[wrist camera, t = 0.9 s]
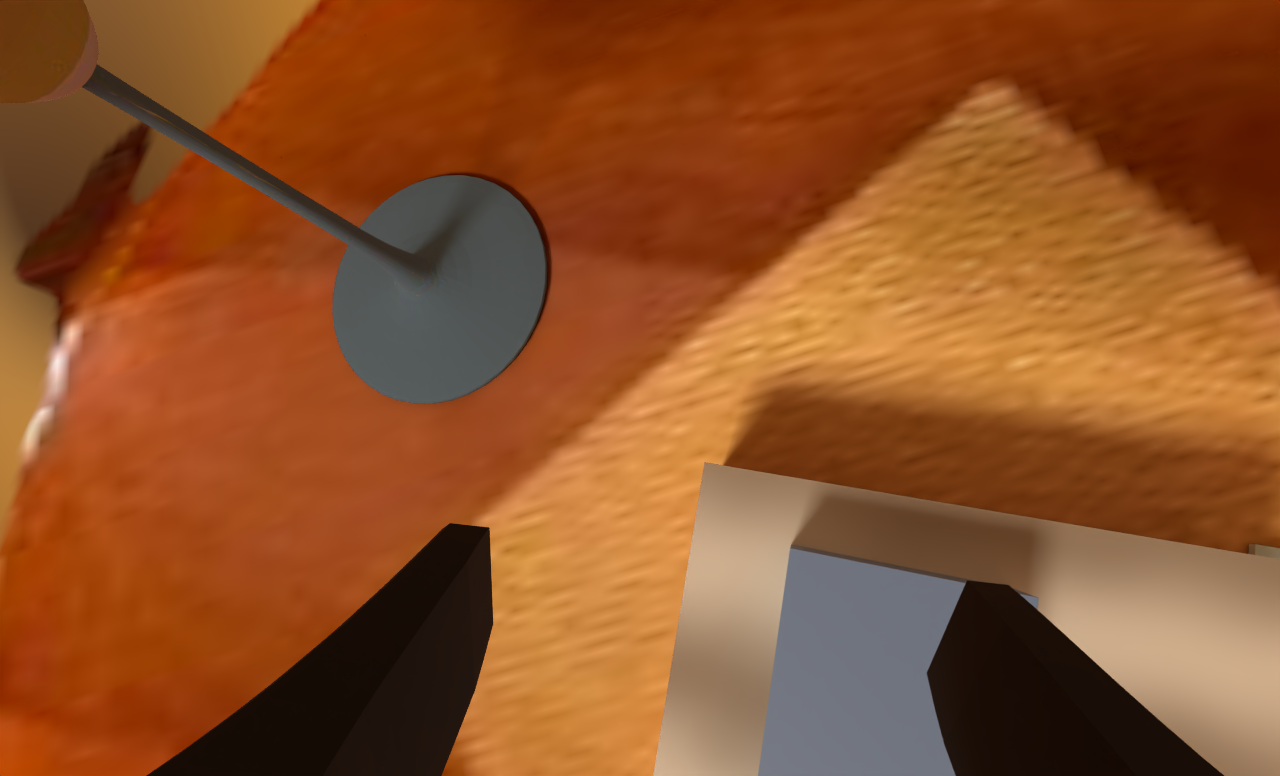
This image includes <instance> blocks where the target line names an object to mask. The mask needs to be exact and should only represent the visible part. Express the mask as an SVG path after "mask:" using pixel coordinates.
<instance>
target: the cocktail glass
mask: <svg viewBox="0 0 1280 776" xmlns="http://www.w3.org/2000/svg"><path fill="white" fill-rule="evenodd" d="M97 60H98V42H97V35H96V32H95V28H94V25H93V22H92V20H91V17H90V15H89V12H88V10H87V7H86V5H85V3H84V1H83V0H0V103H27V102H41V101H48V100H53V99H58V98H62V97H65V96H67V95H69V94H72V93H73V92H75V91H77V90H79V89H80V88H81V87H83V88H85V89H86V90H88V91H90V92H92V93H93V94H95V95H97V96H99V97H100V98H102V99H104V100H106V101H107V102H109V103H111V104H113V105H114V106H116V107H118V108H120V109H121V110H123V111H125V112H127V113H129V114H130V115H132V116H133V117H136V118H137V119H139V120H140V121H142V122H144V123H145V124H147V125H149V126H151V127H152V128H154V129H156V130H157V131H159V132H161V133H163V134H164V135H166V136H168V137H170V138H171V139H173V140H174V141H176V142H178V143H180V144H181V145H183V146H185V147H186V148H188V149H190V150H192V151H193V152H195V153H197V154H198V155H200V156H202V157H204V158H205V159H207V160H209V161H210V162H212V163H214V164H216V165H217V166H219V167H221V168H222V169H224V170H226V171H227V172H229V173H231V174H232V175H234V176H236V177H237V178H239V179H241V180H242V181H244V182H246V183H247V184H249V185H251V186H252V187H254V188H256V189H257V190H259V191H261V192H262V193H264V194H266V195H267V196H269V197H271V198H272V199H274V200H276V201H277V202H279V203H281V204H282V205H284V206H286V207H287V208H289V209H291V210H292V211H294V212H296V213H297V214H299V215H301V216H302V217H304V218H305V219H307V220H309V221H310V222H312V223H314V224H315V225H317V226H319V227H320V228H322V229H323V230H325V231H327V232H328V233H330V234H332V235H333V236H335V237H337V238H338V239H340V240H341V241H343V242H345V243H346V244H348V247H347V250H346V252H345V254H344V256H343V258H342V260H341V263H340V267H339V270H338V273H337V276H336V281H335V287H334V293H333V321H334V328H335V333H336V336H337V340H338V343H339V346H340V348H341V350H342V353H343V355H344V357H345V359H346V361H347V362H348V363H349V365H350V366H351V368H352V369H353V370H354V372H355V373H356V374H357V375H358V376H359V377H360V378H361V379H362V380H363V381H364V382H365V383H366V384H367V385H369V386H370V387H372V388H373V389H375V390H376V391H378V392H379V393H381V394H383V395H386V396H388V397H391V398H393V399H396V400H399V401H405V402H410V403H416V404H431V403H440V402H445V401H451V400H454V399H457V398H460V397H462V396H465V395H468V394H470V393H472V392H474V391H476V390H477V389H479V388H481V387H483V386H485V385H486V384H488V383H489V382H490V381H492V380H493V379H494V378H495V377H497V376H498V375H499V374H501V373H502V372H503V371H504V370H505V369H506V368H507V367H508V366H509V365H510V364H511V363H512V361H513V360H514V359H515V358H516V357H517V355H518V354H519V353H520V351H521V350H522V349H523V347H524V346H525V345H526V343H527V341H528V340H529V338H530V336H531V334H532V332H533V330H534V328H535V326H536V324H537V321H538V318H539V316H540V313H541V310H542V307H543V303H544V298H545V293H546V287H547V260H546V253H545V247H544V244H543V241H542V237H541V234H540V231H539V229H538V228H537V226H536V224H535V222H534V220H533V218H532V216H531V215H530V213H529V212H528V211H527V210H526V208H525V207H524V206H523V204H522V203H521V202H520V201H519V200H518V199H517V198H515V197H514V196H513V195H512V194H511V193H510V192H508V191H507V190H505V189H503V188H502V187H500V186H498V185H496V184H495V183H492V182H489V181H486V180H484V179H481V178H477V177H470V176H464V175H448V176H440V177H435V178H430V179H426V180H424V181H421V182H418V183H415V184H412V185H411V186H409V187H407V188H405V189H403V190H401V191H399V192H397V193H396V194H395V195H393V196H392V197H390V198H389V199H387V200H386V201H385V202H383V203H382V204H381V205H380V206H379V207H378V208H377V209H376V210H375V211H374V212H373V213H371V214H370V216H369V217H368V218H367V219H366V220H365V222H364V223H363V224H362V225H361V226H360V228H358V227H357V226H355V225H353V224H352V223H350V222H348V221H347V220H345V219H343V218H342V217H340V216H338V215H337V214H335V213H333V212H332V211H330V210H329V209H327V208H325V207H324V206H322V205H320V204H319V203H317V202H315V201H314V200H312V199H310V198H309V197H307V196H305V195H304V194H302V193H300V192H299V191H297V190H296V189H294V188H292V187H291V186H289V185H287V184H286V183H284V182H283V181H281V180H279V179H278V178H276V177H275V176H273V175H271V174H270V173H268V172H267V171H265V170H263V169H262V168H260V167H258V166H257V165H255V164H254V163H252V162H250V161H249V160H247V159H246V158H244V157H242V156H241V155H239V154H238V153H236V152H234V151H233V150H231V149H229V148H228V147H226V146H225V145H223V144H221V143H220V142H218V141H217V140H215V139H213V138H212V137H210V136H209V135H207V134H206V133H204V132H202V131H201V130H199V129H197V128H196V127H194V126H193V125H191V124H190V123H188V122H187V121H185V120H183V119H182V118H180V117H179V116H177V115H175V114H174V113H172V112H171V111H169V110H167V109H166V108H164V107H163V106H161V105H160V104H158V103H156V102H155V101H153V100H152V99H150V98H149V97H147V96H145V95H144V94H142V93H141V92H139V91H138V90H136V89H135V88H133V87H131V86H130V85H128V84H127V83H125V82H124V81H122V80H121V79H119V78H117V77H116V76H114V75H113V74H111V73H110V72H108V71H107V70H105V69H104V68H102V67H100V66H99V65H97Z"/></svg>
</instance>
